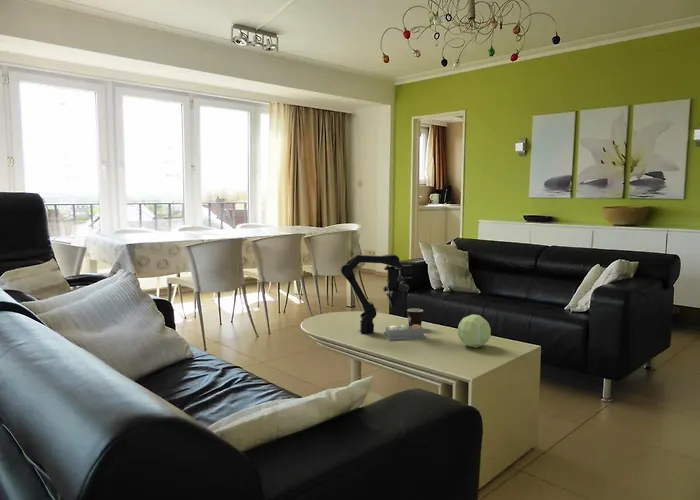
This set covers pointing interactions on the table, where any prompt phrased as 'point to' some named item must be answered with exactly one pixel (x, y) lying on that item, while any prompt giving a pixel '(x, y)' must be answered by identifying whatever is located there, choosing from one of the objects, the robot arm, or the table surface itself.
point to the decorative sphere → (474, 331)
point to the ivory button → (393, 327)
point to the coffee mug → (414, 316)
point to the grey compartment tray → (405, 334)
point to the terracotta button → (416, 326)
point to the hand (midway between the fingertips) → (392, 307)
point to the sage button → (404, 327)
